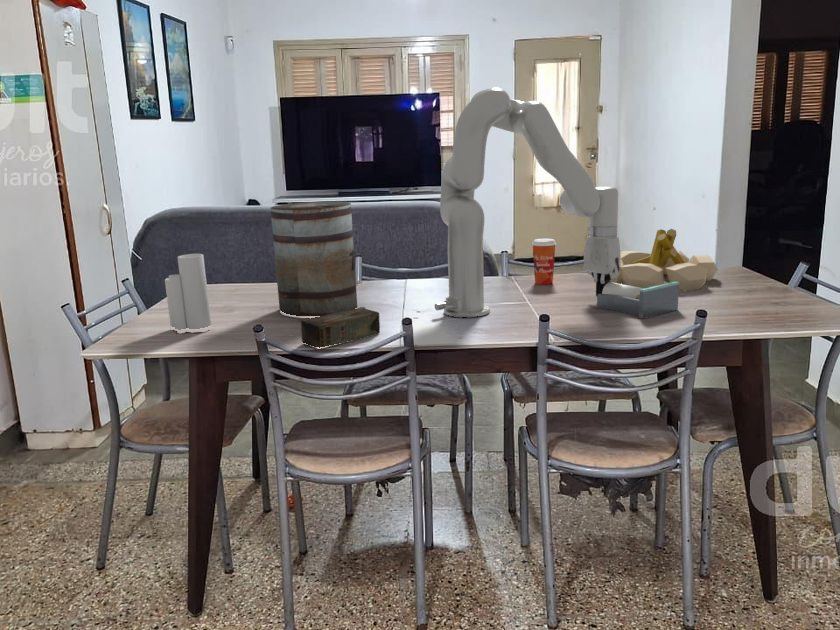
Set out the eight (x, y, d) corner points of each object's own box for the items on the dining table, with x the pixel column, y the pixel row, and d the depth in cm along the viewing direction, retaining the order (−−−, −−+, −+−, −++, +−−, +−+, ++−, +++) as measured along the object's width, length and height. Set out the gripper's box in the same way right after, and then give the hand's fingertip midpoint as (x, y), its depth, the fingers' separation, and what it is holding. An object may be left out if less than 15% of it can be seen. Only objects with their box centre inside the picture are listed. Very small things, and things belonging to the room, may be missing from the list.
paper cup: (529, 285, 230) (529, 241, 226) (534, 280, 237) (533, 238, 233) (554, 285, 227) (554, 241, 224) (557, 281, 234) (558, 238, 231)
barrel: (369, 301, 217) (363, 201, 209) (338, 320, 196) (330, 209, 189) (301, 299, 224) (293, 201, 216) (265, 317, 203) (255, 210, 196)
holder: (642, 319, 185) (643, 290, 183) (595, 308, 197) (596, 281, 196) (677, 310, 192) (679, 282, 190) (630, 300, 205) (631, 273, 203)
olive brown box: (382, 334, 181) (380, 309, 180) (319, 352, 169) (316, 325, 167) (362, 329, 187) (360, 304, 185) (300, 345, 174) (297, 319, 173)
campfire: (700, 297, 206) (703, 238, 202) (586, 288, 224) (587, 233, 220) (724, 275, 234) (727, 222, 230) (621, 268, 252) (622, 219, 248)
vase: (215, 326, 195) (207, 253, 190) (205, 333, 188) (196, 258, 183) (175, 327, 196) (165, 254, 191) (163, 334, 189) (154, 259, 184)
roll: (645, 307, 196) (646, 286, 194) (630, 311, 193) (631, 289, 191) (615, 301, 204) (616, 280, 203) (601, 304, 201) (601, 283, 200)
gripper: (573, 231, 204) (573, 294, 208) (615, 235, 192) (613, 302, 196) (592, 228, 208) (591, 290, 212) (633, 232, 196) (631, 298, 200)
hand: (601, 296), depth 204 cm, fingers closed
